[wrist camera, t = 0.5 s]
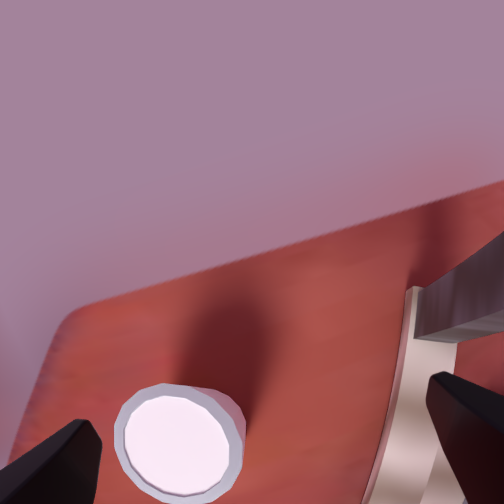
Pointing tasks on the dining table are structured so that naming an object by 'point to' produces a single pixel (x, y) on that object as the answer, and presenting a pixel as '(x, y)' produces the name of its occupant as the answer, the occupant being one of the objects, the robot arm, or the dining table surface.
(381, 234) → the dining table surface
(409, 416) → the tray with upright post
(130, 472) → the shot glass
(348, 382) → the dining table surface
